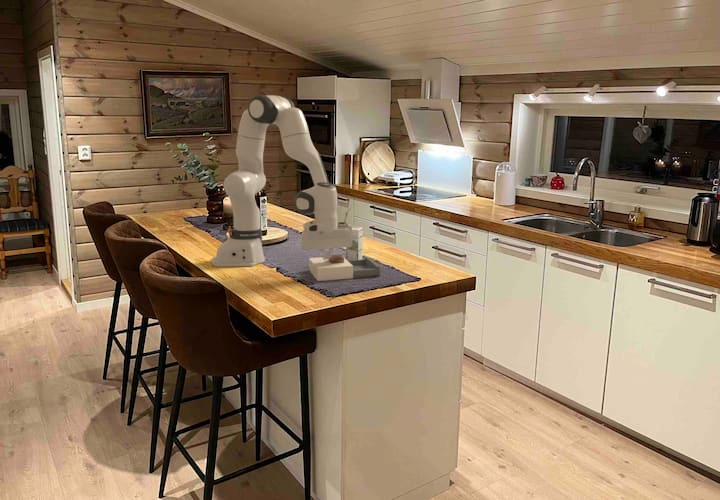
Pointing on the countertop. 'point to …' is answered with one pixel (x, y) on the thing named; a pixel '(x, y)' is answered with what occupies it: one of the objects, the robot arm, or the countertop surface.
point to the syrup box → (355, 244)
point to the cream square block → (330, 269)
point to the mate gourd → (345, 219)
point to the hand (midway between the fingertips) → (326, 259)
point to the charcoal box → (364, 268)
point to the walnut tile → (336, 259)
